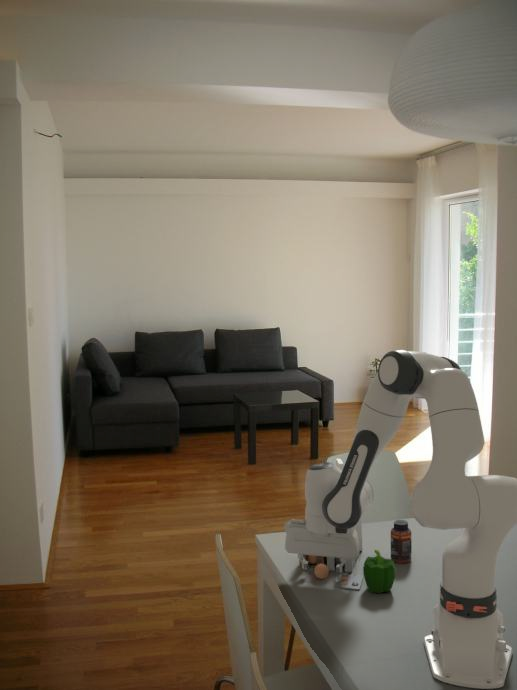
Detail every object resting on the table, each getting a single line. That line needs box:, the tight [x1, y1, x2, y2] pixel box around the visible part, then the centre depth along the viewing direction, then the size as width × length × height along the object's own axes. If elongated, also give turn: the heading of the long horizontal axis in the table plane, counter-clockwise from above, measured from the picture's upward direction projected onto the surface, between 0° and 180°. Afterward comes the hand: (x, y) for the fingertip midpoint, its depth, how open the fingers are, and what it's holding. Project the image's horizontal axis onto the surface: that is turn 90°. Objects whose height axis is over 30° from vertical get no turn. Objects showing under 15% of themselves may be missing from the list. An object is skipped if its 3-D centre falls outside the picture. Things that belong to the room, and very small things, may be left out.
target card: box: [336, 573, 364, 591], centre depth 190 cm, size 8×6×1 cm
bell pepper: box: [362, 549, 396, 594], centre depth 185 cm, size 8×8×10 cm
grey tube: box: [326, 557, 357, 573], centre depth 200 cm, size 7×7×9 cm
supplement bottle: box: [390, 519, 413, 564], centre depth 203 cm, size 6×6×11 cm
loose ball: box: [314, 564, 330, 580], centre depth 193 cm, size 4×4×4 cm
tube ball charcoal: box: [334, 558, 345, 568], centre depth 200 cm, size 4×4×4 cm
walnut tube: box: [298, 554, 327, 568], centre depth 202 cm, size 7×7×9 cm
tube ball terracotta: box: [307, 555, 317, 565], centre depth 202 cm, size 4×4×4 cm
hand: (322, 570), depth 193 cm, fingers open, 8 cm apart
